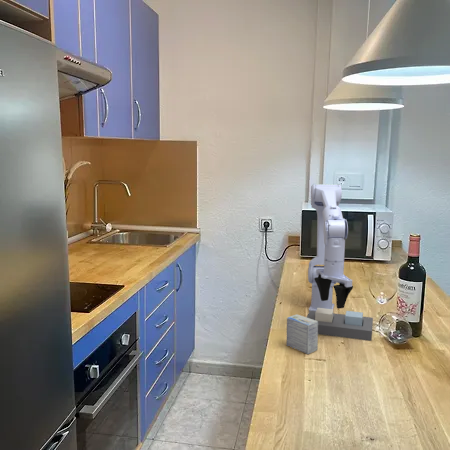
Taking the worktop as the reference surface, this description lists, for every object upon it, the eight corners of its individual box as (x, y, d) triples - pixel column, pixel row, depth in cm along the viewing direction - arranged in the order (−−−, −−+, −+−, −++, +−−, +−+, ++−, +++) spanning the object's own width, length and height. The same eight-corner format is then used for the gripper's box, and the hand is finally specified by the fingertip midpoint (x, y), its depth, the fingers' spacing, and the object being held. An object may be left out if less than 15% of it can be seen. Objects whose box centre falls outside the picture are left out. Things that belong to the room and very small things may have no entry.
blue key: (346, 319, 147) (346, 310, 147) (362, 321, 145) (363, 312, 145) (344, 325, 142) (345, 315, 142) (361, 327, 141) (362, 317, 140)
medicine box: (317, 350, 130) (318, 321, 129) (307, 355, 127) (308, 324, 126) (296, 342, 136) (296, 313, 135) (285, 346, 133) (286, 317, 132)
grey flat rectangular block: (309, 319, 154) (309, 310, 154) (372, 326, 148) (372, 317, 148) (303, 332, 143) (303, 322, 143) (371, 340, 137) (371, 331, 136)
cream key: (317, 316, 150) (317, 307, 149) (333, 318, 148) (333, 309, 148) (315, 321, 145) (315, 312, 145) (331, 323, 144) (331, 314, 143)
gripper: (308, 256, 143) (307, 298, 145) (339, 266, 130) (336, 313, 132) (327, 254, 146) (325, 296, 148) (358, 264, 133) (356, 310, 135)
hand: (332, 304), depth 140 cm, fingers open, 7 cm apart
